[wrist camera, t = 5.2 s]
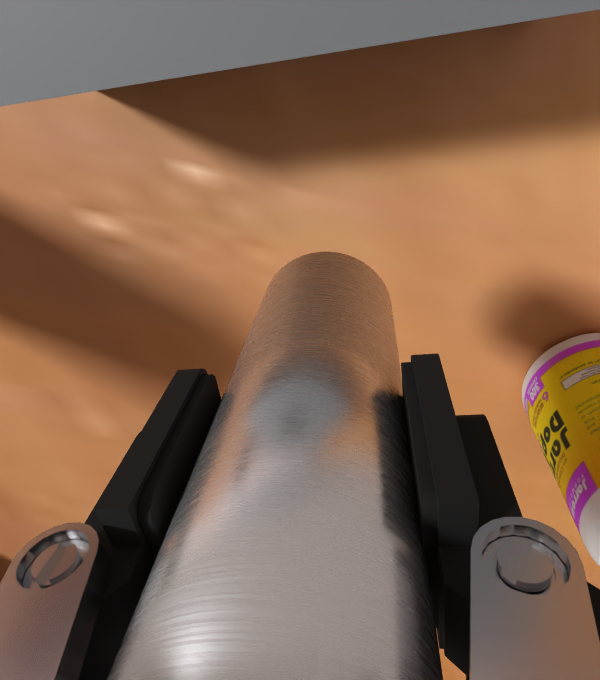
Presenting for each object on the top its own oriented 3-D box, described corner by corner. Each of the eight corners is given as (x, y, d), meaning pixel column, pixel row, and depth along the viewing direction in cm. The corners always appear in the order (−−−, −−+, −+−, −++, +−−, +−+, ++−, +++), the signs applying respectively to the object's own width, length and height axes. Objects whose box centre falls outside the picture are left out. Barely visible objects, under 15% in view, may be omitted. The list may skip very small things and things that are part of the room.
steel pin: (394, 364, 16) (512, 1323, 4) (274, 371, 17) (41, 1216, 4) (388, 245, 14) (578, 1390, 2) (252, 258, 15) (-258, 1187, 3)
